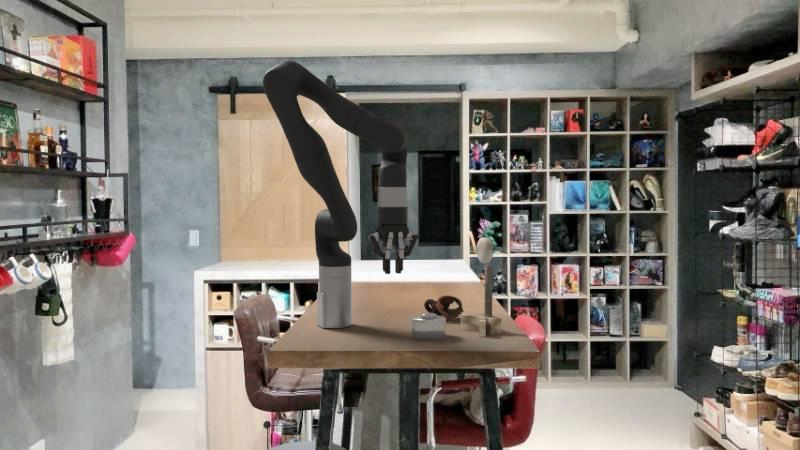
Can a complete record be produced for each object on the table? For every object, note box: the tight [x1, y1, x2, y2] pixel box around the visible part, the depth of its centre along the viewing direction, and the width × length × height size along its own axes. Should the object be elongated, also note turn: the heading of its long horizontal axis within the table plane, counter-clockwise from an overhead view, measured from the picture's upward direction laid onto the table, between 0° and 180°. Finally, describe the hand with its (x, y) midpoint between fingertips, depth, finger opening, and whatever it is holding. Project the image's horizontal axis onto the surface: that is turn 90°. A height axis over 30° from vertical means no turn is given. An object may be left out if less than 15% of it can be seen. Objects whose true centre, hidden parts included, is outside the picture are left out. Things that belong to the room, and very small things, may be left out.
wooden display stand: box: [460, 237, 502, 337], centre depth 173 cm, size 7×12×26 cm, turn 23°
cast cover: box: [410, 312, 447, 341], centre depth 167 cm, size 9×9×6 cm
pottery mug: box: [423, 294, 465, 321], centre depth 191 cm, size 12×10×8 cm
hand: (393, 273), depth 163 cm, fingers open, 2 cm apart
